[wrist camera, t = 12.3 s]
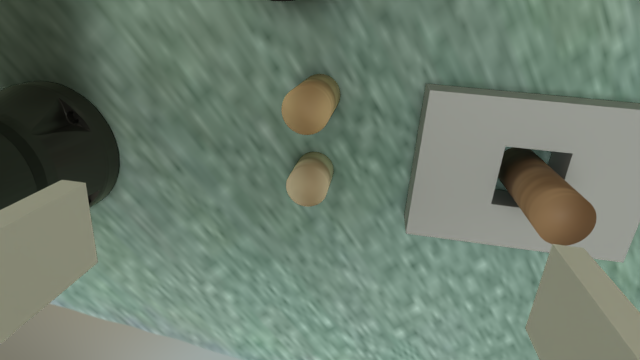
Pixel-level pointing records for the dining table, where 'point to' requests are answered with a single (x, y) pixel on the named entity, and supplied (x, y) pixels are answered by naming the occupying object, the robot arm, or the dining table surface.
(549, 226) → the long pin
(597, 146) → the hole board
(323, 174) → the short pin
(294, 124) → the medium pin
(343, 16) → the dining table surface
